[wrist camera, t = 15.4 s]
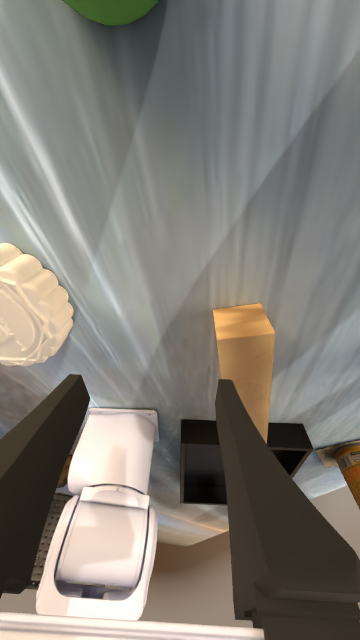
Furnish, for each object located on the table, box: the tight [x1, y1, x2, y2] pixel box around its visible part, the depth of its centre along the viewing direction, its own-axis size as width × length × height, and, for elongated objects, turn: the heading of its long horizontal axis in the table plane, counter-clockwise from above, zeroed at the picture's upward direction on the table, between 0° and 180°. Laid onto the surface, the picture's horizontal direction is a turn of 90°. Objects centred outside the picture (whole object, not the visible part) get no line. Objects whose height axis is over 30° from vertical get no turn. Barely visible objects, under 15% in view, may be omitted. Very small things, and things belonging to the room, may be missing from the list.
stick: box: [213, 303, 275, 444], centre depth 24 cm, size 4×18×4 cm, turn 10°
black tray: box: [180, 420, 313, 506], centre depth 37 cm, size 17×23×3 cm
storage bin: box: [26, 494, 105, 590], centre depth 52 cm, size 29×19×13 cm
